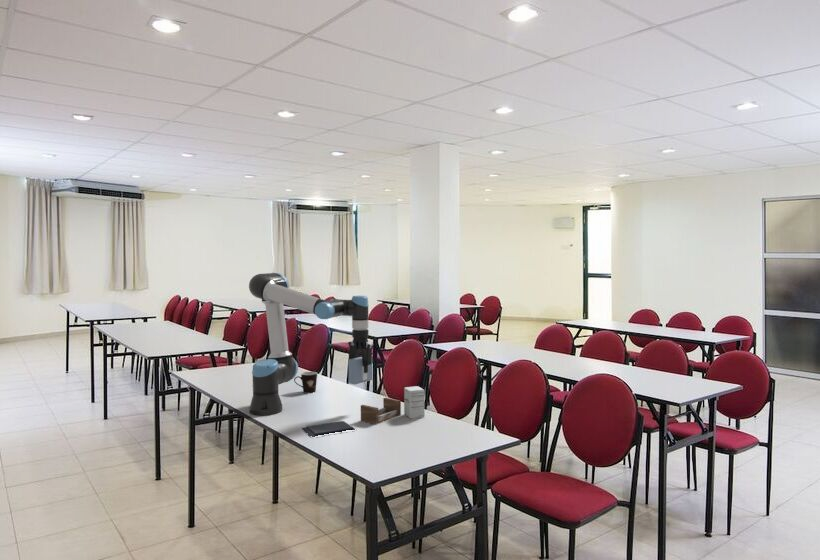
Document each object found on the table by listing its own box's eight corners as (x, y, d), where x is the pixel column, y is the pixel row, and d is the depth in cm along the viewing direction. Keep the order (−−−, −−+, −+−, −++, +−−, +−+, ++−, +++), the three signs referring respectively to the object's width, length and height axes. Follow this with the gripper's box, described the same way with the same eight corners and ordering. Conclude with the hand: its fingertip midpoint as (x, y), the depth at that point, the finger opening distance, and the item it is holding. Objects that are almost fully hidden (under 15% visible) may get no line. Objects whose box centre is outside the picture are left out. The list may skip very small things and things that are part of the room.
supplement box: (403, 414, 255) (403, 387, 254) (418, 412, 258) (418, 385, 257) (409, 419, 248) (409, 390, 248) (425, 417, 251) (424, 389, 250)
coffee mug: (319, 390, 303) (319, 371, 303) (315, 393, 295) (314, 375, 294) (298, 389, 304) (298, 371, 304) (293, 393, 296) (293, 374, 295)
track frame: (376, 424, 240) (376, 408, 240) (360, 420, 246) (360, 405, 246) (400, 415, 254) (400, 400, 254) (385, 412, 259) (385, 397, 259)
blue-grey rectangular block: (354, 384, 253) (354, 360, 253) (348, 383, 256) (348, 359, 255) (372, 379, 263) (372, 356, 262) (366, 378, 265) (366, 355, 265)
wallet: (311, 435, 222) (300, 425, 236) (311, 439, 223) (300, 429, 236) (357, 427, 232) (345, 418, 245) (357, 432, 232) (345, 422, 245)
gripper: (379, 329, 256) (379, 380, 257) (352, 326, 266) (352, 375, 267) (368, 331, 250) (369, 383, 251) (341, 328, 260) (341, 378, 261)
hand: (360, 378), depth 259 cm, fingers closed on blue-grey rectangular block, 4 cm apart
